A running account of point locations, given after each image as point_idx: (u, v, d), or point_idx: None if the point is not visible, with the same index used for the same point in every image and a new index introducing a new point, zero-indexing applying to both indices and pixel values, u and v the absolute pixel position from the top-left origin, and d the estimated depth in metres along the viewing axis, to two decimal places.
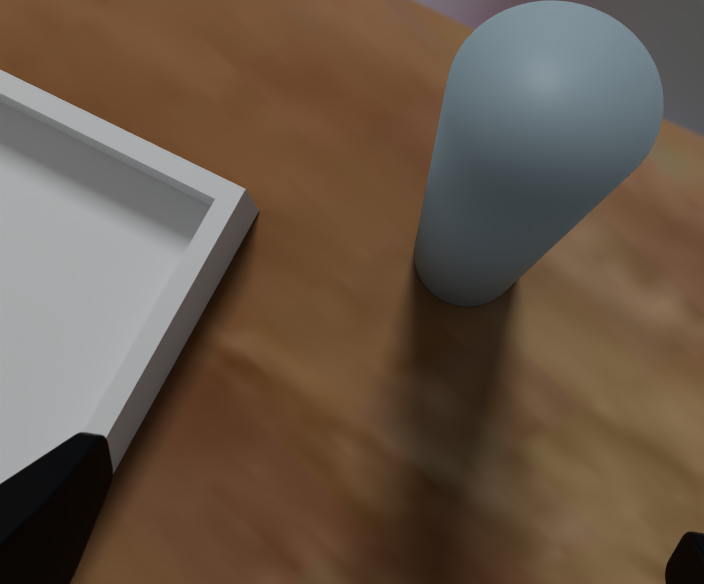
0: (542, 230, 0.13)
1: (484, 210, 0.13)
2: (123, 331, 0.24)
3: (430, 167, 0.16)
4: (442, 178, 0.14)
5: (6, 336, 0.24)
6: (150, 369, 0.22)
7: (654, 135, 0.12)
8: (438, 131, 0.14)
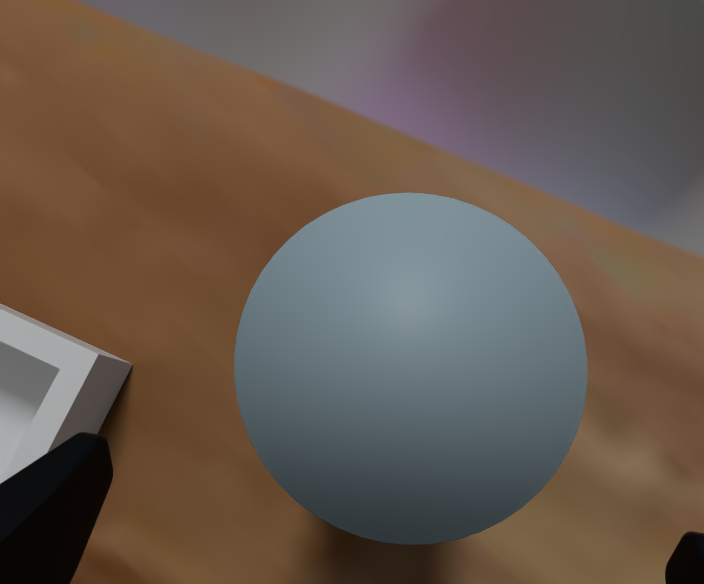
0: None
1: None
2: None
3: None
4: None
5: None
6: None
7: (575, 420, 0.07)
8: None
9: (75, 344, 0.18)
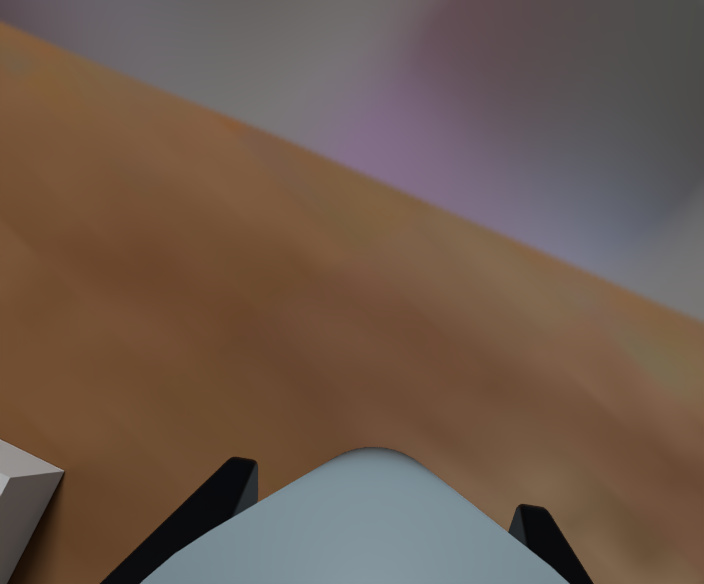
0: None
1: None
2: None
3: None
4: None
5: None
6: None
7: None
8: None
9: None
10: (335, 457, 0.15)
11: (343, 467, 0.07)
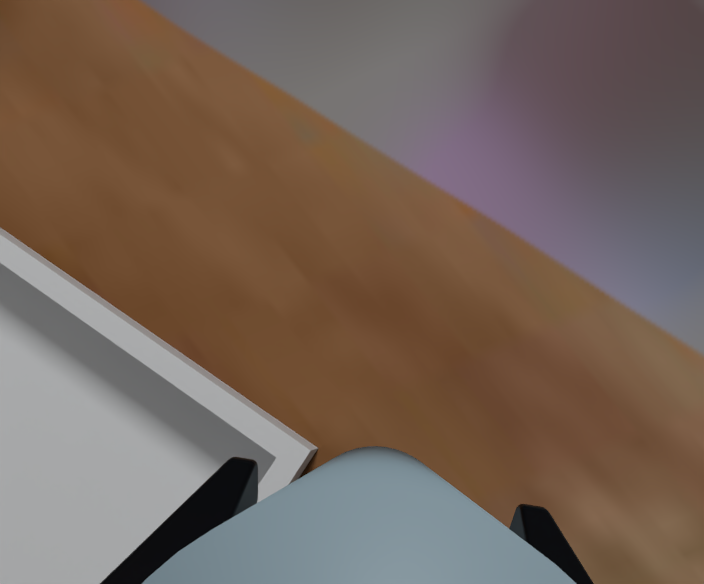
0: None
1: None
2: None
3: None
4: None
5: (31, 564, 0.22)
6: None
7: None
8: None
9: (291, 438, 0.20)
10: (337, 456, 0.15)
11: (346, 466, 0.07)
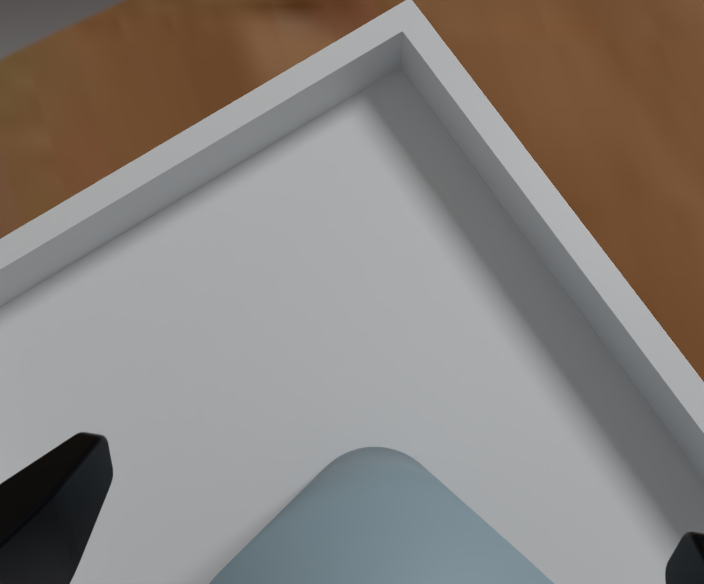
0: None
1: None
2: None
3: None
4: None
5: None
6: None
7: None
8: None
9: None
10: (340, 457, 0.16)
11: (358, 474, 0.09)
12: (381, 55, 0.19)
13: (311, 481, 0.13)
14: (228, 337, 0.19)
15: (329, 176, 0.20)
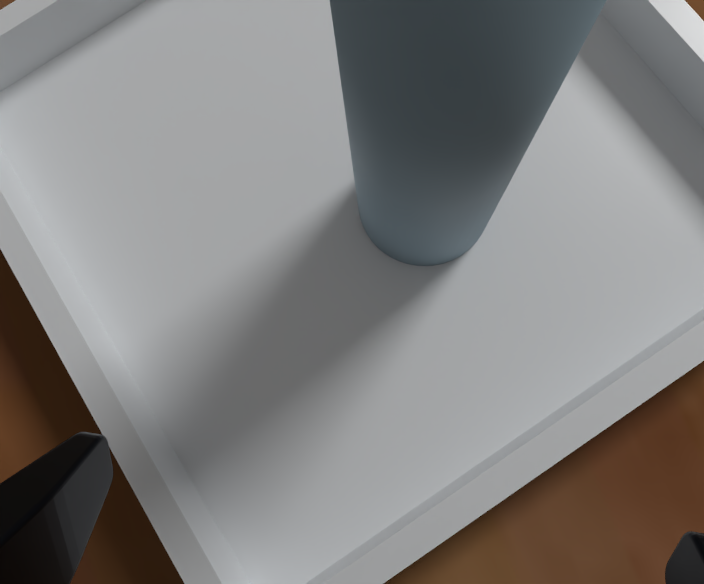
0: (497, 87, 0.09)
1: (402, 56, 0.08)
2: (611, 313, 0.18)
3: None
4: (340, 28, 0.09)
5: None
6: None
7: None
8: None
9: None
10: None
11: None
12: None
13: None
14: (284, 57, 0.20)
15: None
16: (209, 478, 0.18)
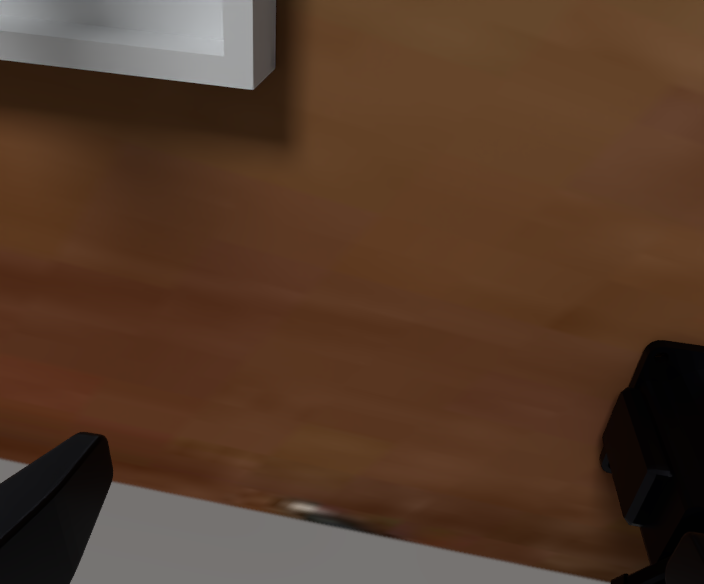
0: None
1: None
2: None
3: None
4: None
5: None
6: None
7: None
8: None
9: None
10: None
11: None
12: None
13: None
14: None
15: None
16: (117, 11, 0.19)
